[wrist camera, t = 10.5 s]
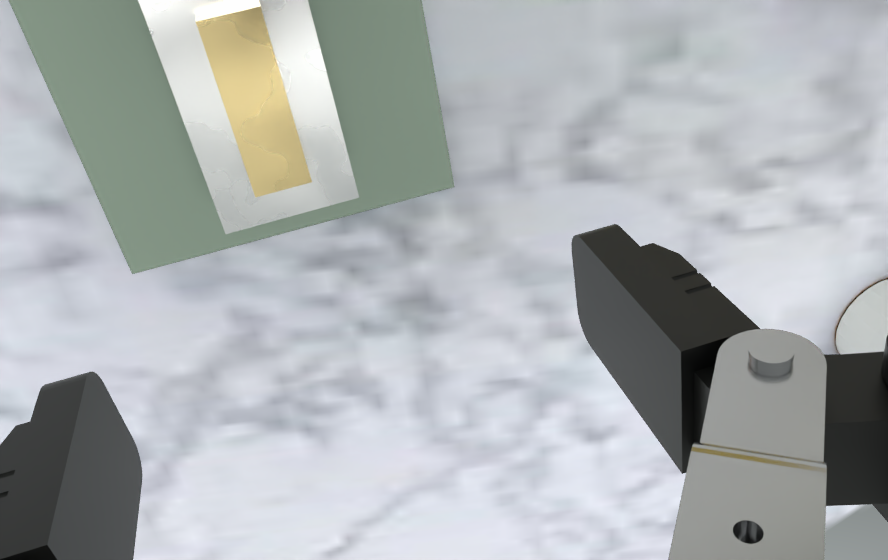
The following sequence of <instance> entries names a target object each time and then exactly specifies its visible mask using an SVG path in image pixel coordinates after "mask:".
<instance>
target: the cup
mask: <svg viewBox="0 0 888 560" xmlns="http://www.w3.org/2000/svg"><path fill="white" fill-rule="evenodd" d="M887 335H888V279H887V280H884V281H881V282H879V283H877V284H875V285H874V286H872V287H870V288H868V289H867V290H866V291H864V292H863V293H862V294H861V295H860V296H858V297H857V298H856V299H855V300H854V302H853V303H852V304H851V305H850V306H849V307H848V309H847V310H846V312H845V314H844V315H843V317H842V319H841V320H840V323H839V326H838V329H837V332H836V346H837V350H838V352H839V353H840V354H854V353H869V352H883V351H884V349H885V343H886V338H887Z"/></svg>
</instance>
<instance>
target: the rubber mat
mask: <svg viewBox="0 0 888 560" xmlns="http://www.w3.org/2000/svg"><path fill="white" fill-rule="evenodd" d="M9 2H10V4H11V6H12V9H13V11H14V13H15V15H16V18H17V20H18V22H19V24H20V26H21V29H22V31H23V33H24V35H25V37H26V40H27V42H28V44H29V46H30V49H31V51H32V53H33V55H34V57H35V60H36V62H37V64H38V66H39V69H40V71H41V73H42V75H43V77H44V80H45V82H46V84H47V86H48V88H49V91H50V93H51V95H52V97H53V100H54V102H55V104H56V106H57V108H58V111H59V113H60V115H61V117H62V119H63V122H64V124H65V126H66V128H67V131H68V133H69V135H70V137H71V139H72V142H73V144H74V146H75V148H76V150H77V153H78V155H79V157H80V159H81V162H82V164H83V166H84V168H85V170H86V173H87V175H88V177H89V179H90V181H91V184H92V186H93V188H94V190H95V193H96V195H97V197H98V199H99V201H100V204H101V206H102V208H103V210H104V212H105V215H106V217H107V219H108V221H109V224H110V226H111V228H112V230H113V232H114V235H115V237H116V239H117V241H118V243H119V246H120V248H121V250H122V252H123V255H124V257H125V259H126V261H127V263H128V266H129V268H130V270H131V272H132V274H135V273H138V272H142V271H146V270H149V269H153V268H157V267H160V266H164V265H168V264H172V263H175V262H179V261H183V260H186V259H190V258H194V257H197V256H201V255H205V254H208V253H212V252H216V251H220V250H223V249H227V248H231V247H234V246H238V245H242V244H245V243H249V242H253V241H256V240H260V239H264V238H268V237H271V236H275V235H279V234H282V233H286V232H290V231H293V230H297V229H301V228H304V227H308V226H312V225H316V224H319V223H323V222H327V221H330V220H334V219H338V218H341V217H345V216H349V215H352V214H356V213H360V212H364V211H367V210H371V209H375V208H378V207H382V206H386V205H389V204H393V203H397V202H400V201H404V200H408V199H412V198H415V197H419V196H423V195H426V194H430V193H434V192H437V191H441V190H445V189H448V188H452V187H454V182H453V176H452V171H451V165H450V159H449V154H448V148H447V142H446V137H445V131H444V125H443V120H442V114H441V108H440V103H439V97H438V91H437V86H436V80H435V74H434V69H433V63H432V58H431V52H430V46H429V41H428V35H427V29H426V24H425V18H424V12H423V7H422V1H421V0H308V3H309V6H310V10H311V14H312V18H313V22H314V26H315V30H316V33H317V37H318V41H319V45H320V49H321V53H322V56H323V60H324V64H325V68H326V72H327V76H328V79H329V83H330V87H331V91H332V95H333V99H334V103H335V106H336V110H337V114H338V118H339V122H340V126H341V129H342V133H343V137H344V141H345V145H346V149H347V152H348V156H349V160H350V164H351V168H352V172H353V176H354V179H355V183H356V187H357V191H358V195H359V198H356V199H352V200H348V201H345V202H341V203H338V204H334V205H330V206H327V207H323V208H319V209H316V210H312V211H309V212H305V213H301V214H298V215H294V216H290V217H287V218H283V219H280V220H276V221H272V222H269V223H265V224H261V225H258V226H254V227H251V228H247V229H243V230H240V231H236V232H232V233H229V234H225V231H224V229H223V226H222V223H221V221H220V218H219V215H218V213H217V210H216V207H215V205H214V202H213V199H212V196H211V194H210V191H209V188H208V186H207V183H206V180H205V178H204V175H203V172H202V170H201V167H200V164H199V162H198V159H197V156H196V154H195V151H194V148H193V146H192V143H191V140H190V138H189V135H188V132H187V130H186V127H185V124H184V122H183V119H182V116H181V113H180V111H179V108H178V105H177V103H176V100H175V97H174V95H173V92H172V89H171V87H170V84H169V81H168V79H167V76H166V73H165V71H164V68H163V65H162V63H161V60H160V57H159V55H158V52H157V49H156V47H155V44H154V41H153V39H152V36H151V33H150V31H149V28H148V25H147V22H146V20H145V17H144V14H143V12H142V9H141V6H140V4H139V1H138V0H9Z"/></svg>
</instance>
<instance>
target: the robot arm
mask: <svg viewBox="0 0 888 560" xmlns="http://www.w3.org/2000/svg"><path fill="white" fill-rule="evenodd" d="M572 257H573V267H574V277H575V288H576V298H577V308H578V315H579V319H580V323H581V327H582V329H583V332H584V335H585V337H586V339H587V341H588V343H589V344H590V346H591V347H592V349H593V350H594V352H595V353H596V354H597V356H598V357H599V359H600V360H601V361H602V363H603V364H604V365H605V367H606V368H607V370H608V371H609V372H610V374H611V375H612V377H613V378H614V379H615V381H616V382H617V384H618V385H619V386H620V388H621V389H622V391H623V392H624V393H625V395H626V396H627V397H628V399H629V400H630V402H631V403H632V404H633V406H634V407H635V409H636V410H637V411H638V413H639V414H640V416H641V417H642V418H643V420H644V421H645V422H646V424H647V425H648V427H649V428H650V429H651V431H652V432H653V434H654V435H655V436H656V438H657V439H658V441H659V442H660V443H661V445H662V446H663V448H664V449H665V450H666V452H667V453H668V454H669V456H670V457H671V459H672V460H673V461H674V463H675V464H676V466H677V467H678V468H679V470H680V471H681V473H682V474H683V473H686V477H685V482H684V487H683V491H682V496H681V501H680V506H679V510H678V515H677V520H676V525H675V530H674V534H673V539H672V544H671V549H670V553H669V558H668V560H824V551H825V516H826V506H833V505H861V504H873V506H874V507H875V508H876V509H877V510H878V511H879V512H880V514H882V516H883V517H884V518H885V519H886V520H887V522H888V335H887V338H886V343H885V349H884V351H883V352H869V353H854V354H839V355H824V354H823V353H822V351H821V350H820V349H819V348H818V347H817V346H816V345H815V344H814V343H812V342H811V341H809V340H808V339H806V338H804V337H802V336H800V335H797V334H794V333H791V332H787V331H783V330H776V329H760V328H759V327H758V326H757V325H756V324H755V323H753V322H752V321H751V320H750V319H749V318H748V317H747V316H746V315H745V314H744V313H743V312H742V311H740V310H739V309H738V308H737V307H736V306H735V305H734V304H733V303H732V302H731V301H730V300H729V299H728V298H726V297H725V296H724V295H723V294H722V293H721V292H720V291H719V290H718V289H717V288H716V287H715V286H714V287H712V286H711V283H710V282H709V281H708V280H707V279H706V278H705V277H704V276H703V275H702V274H701V273H699V274H698V273H697V270H696V269H695V268H694V267H693V266H692V265H691V264H690V263H689V262H688V261H686V260H685V259H684V258H683V257H682V256H681V255H680V254H678V253H676V252H673V251H671V250H668V249H666V248H664V247H661V246H659V245H656V244H654V243H652V244H648V245H645V246H641V247H640V246H639V245H638V244H637V243H636V242H635V241H634V240H633V239H632V238H631V237H630V236H629V235H628V234H627V233H626V232H625V231H624V230H623V229H622V228H621V227H620V226H618V225H616V224H614V225H610V226H607V227H603V228H600V229H596V230H593V231H589V232H586V233H582V234H579V235H575V236H574V237H573V239H572ZM141 485H142V467H141V461H140V457H139V453H138V450H137V447H136V444H135V442H134V440H133V438H132V436H131V434H130V432H129V430H128V428H127V427H126V425H125V423H124V421H123V419H122V417H121V415H120V413H119V411H118V410H117V408H116V406H115V404H114V402H113V400H112V398H111V396H110V394H109V392H108V391H107V389H106V387H105V385H104V383H103V381H102V380H101V378H100V377H99V376H98V375H97V374H96V373H95V372H88V373H85V374H81V375H78V376H74V377H71V378H67V379H64V380H60V381H56V382H53V383H49V384H46V385H44V386H42V388H41V390H40V392H39V395H38V399H37V402H36V405H35V408H34V411H33V415H32V418H31V421H30V422H27V423H24V424H20V425H17V426H15V428H14V429H13V430H12V431H11V433H10V434H9V435H8V436H7V437H6V439H5V440H4V441H3V442H2V444H1V445H0V560H133V556H134V547H135V538H136V529H137V520H138V511H139V503H140V494H141Z"/></svg>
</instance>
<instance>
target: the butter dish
mask: <svg viewBox="0 0 888 560" xmlns="http://www.w3.org/2000/svg"><path fill="white" fill-rule="evenodd" d="M138 1H139V4H140V6H141V9H142V12H143V14H144V17H145V20H146V22H147V25H148V28H149V31H150V33H151V36H152V39H153V41H154V44H155V47H156V49H157V52H158V55H159V57H160V60H161V63H162V65H163V68H164V71H165V73H166V76H167V79H168V81H169V84H170V87H171V89H172V92H173V95H174V97H175V100H176V103H177V105H178V108H179V111H180V113H181V116H182V119H183V122H184V124H185V127H186V130H187V132H188V135H189V138H190V140H191V143H192V146H193V148H194V151H195V154H196V156H197V159H198V162H199V164H200V167H201V170H202V172H203V175H204V178H205V180H206V183H207V186H208V188H209V191H210V194H211V196H212V199H213V202H214V205H215V207H216V210H217V213H218V215H219V218H220V221H221V223H222V226H223V229H224V231H225V234H229V233H232V232H236V231H240V230H243V229H247V228H251V227H254V226H258V225H261V224H265V223H269V222H272V221H276V220H280V219H283V218H287V217H290V216H294V215H298V214H301V213H305V212H309V211H312V210H316V209H319V208H323V207H327V206H330V205H334V204H338V203H341V202H345V201H348V200H352V199H356V198H359V195H358V191H357V187H356V183H355V179H354V176H353V172H352V168H351V164H350V160H349V156H348V152H347V149H346V145H345V141H344V137H343V133H342V129H341V126H340V122H339V118H338V114H337V110H336V106H335V103H334V99H333V95H332V91H331V87H330V83H329V79H328V76H327V72H326V68H325V64H324V60H323V56H322V53H321V49H320V45H319V41H318V37H317V33H316V30H315V26H314V22H313V18H312V14H311V10H310V6H309V3H308V0H138Z"/></svg>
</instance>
